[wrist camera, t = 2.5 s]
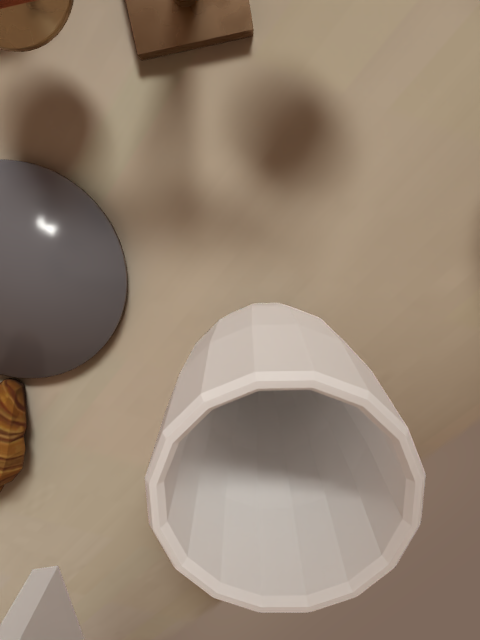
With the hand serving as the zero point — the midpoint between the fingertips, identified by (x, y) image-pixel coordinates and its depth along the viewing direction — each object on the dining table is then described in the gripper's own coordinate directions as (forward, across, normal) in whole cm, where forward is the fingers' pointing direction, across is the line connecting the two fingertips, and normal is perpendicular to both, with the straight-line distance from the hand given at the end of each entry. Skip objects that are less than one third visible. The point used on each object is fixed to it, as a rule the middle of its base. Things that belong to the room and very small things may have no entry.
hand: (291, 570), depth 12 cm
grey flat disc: (+24, -18, +8) cm, 31 cm away
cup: (+24, 0, 0) cm, 24 cm away
